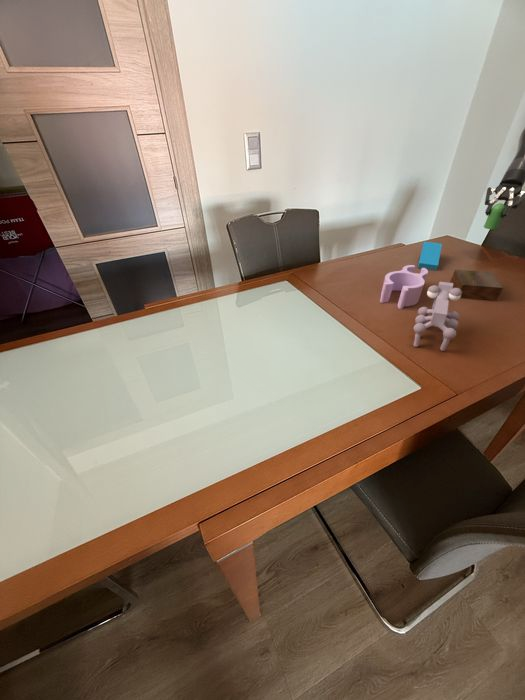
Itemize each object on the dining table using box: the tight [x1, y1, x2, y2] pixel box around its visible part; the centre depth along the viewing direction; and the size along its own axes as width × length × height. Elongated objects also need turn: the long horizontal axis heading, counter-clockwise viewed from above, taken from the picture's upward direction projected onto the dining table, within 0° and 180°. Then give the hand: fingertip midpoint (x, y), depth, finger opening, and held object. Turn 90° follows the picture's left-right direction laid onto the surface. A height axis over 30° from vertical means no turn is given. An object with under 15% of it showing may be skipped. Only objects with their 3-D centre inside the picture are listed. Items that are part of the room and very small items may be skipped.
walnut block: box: [449, 269, 504, 302], centre depth 107 cm, size 12×12×5 cm
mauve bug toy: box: [413, 281, 462, 352], centre depth 86 cm, size 20×11×14 cm, turn 152°
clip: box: [379, 264, 429, 310], centre depth 106 cm, size 20×12×7 cm, turn 137°
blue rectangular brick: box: [417, 241, 443, 271], centre depth 128 cm, size 7×7×18 cm
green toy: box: [483, 202, 506, 230], centre depth 118 cm, size 5×5×9 cm
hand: (495, 215), depth 117 cm, fingers closed on green toy, 4 cm apart
